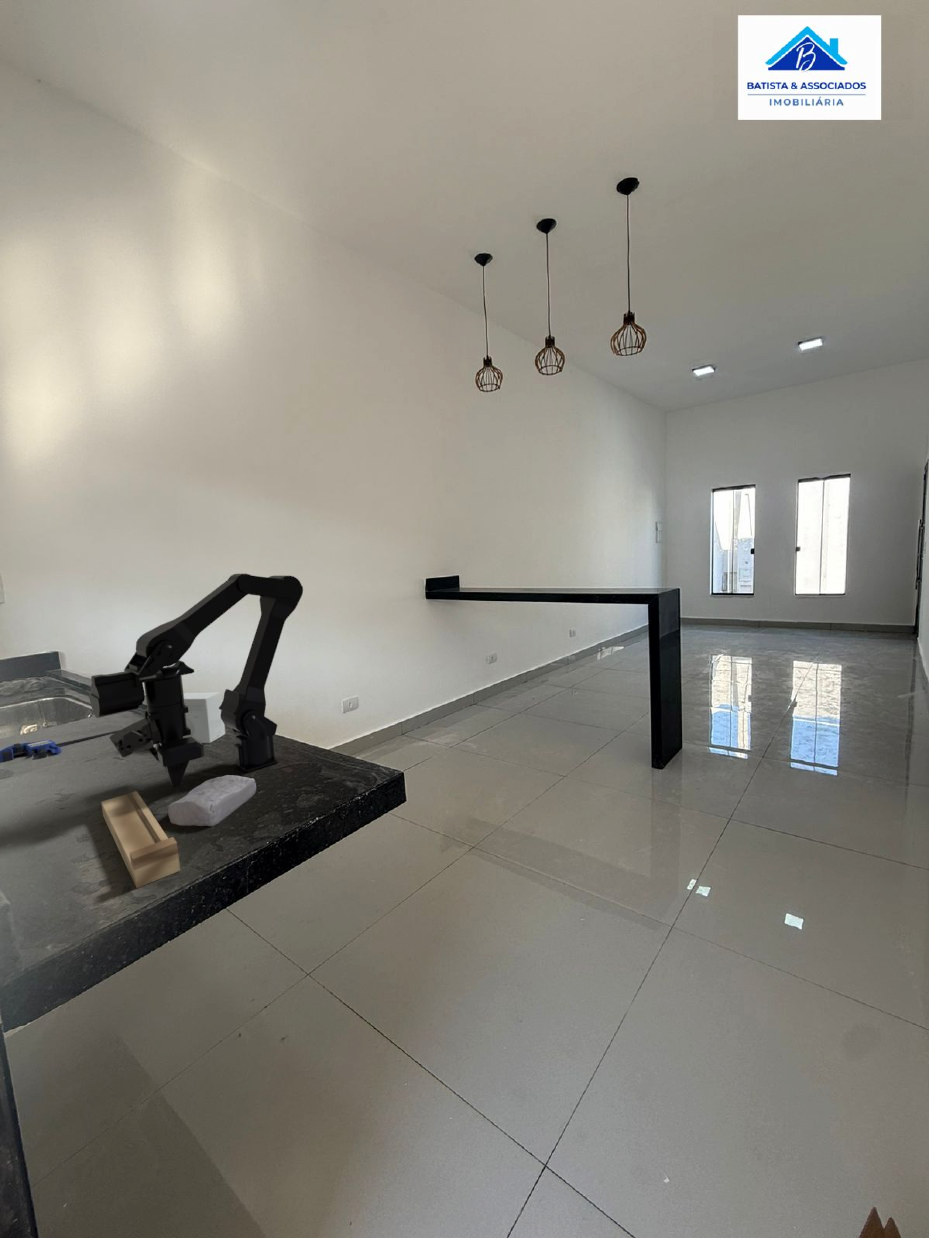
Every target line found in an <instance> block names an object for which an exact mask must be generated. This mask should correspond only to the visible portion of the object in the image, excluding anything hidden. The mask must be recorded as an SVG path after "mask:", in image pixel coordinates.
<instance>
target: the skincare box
mask: <svg viewBox="0 0 929 1238" xmlns="http://www.w3.org/2000/svg"><path fill="white" fill-rule="evenodd" d="M183 694H184V702H185V705H186V706H187V707H188V711H189V712H188V713H186V719H187V727H189V728H190V729H191V735H188V736H183V738H188V737H193V738H195V739H196V740H198V741H199V742H200V743H201V744H211V743H213V742H214V741H216V740H218V739H219V738H221V737H223V736H225V735H226V725H225V724H224V723H223V721H222V719H221V710H220V709H219V707H220V705H221V704H222V702H223V699H222V698H223V697H222V692H183Z"/></svg>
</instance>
